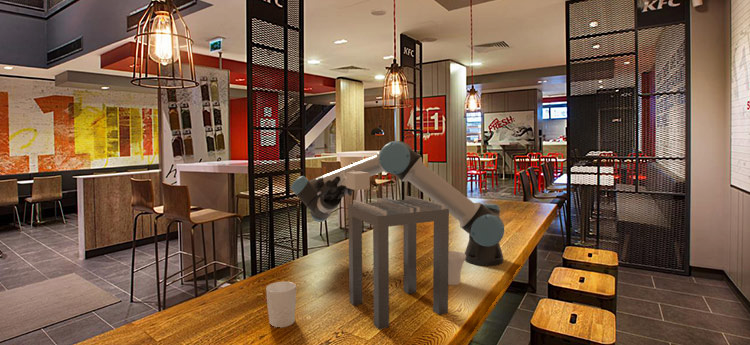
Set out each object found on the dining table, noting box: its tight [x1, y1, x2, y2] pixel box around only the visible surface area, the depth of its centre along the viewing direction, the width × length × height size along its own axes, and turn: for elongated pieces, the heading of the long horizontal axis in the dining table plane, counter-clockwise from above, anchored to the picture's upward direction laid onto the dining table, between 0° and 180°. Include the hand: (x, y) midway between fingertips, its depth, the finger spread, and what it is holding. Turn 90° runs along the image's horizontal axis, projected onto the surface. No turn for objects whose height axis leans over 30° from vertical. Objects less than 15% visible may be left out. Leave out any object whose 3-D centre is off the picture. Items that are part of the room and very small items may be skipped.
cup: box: [448, 250, 466, 286], centre depth 139 cm, size 9×9×10 cm
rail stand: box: [347, 195, 450, 330], centre depth 118 cm, size 20×22×31 cm
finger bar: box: [337, 171, 371, 191], centre depth 133 cm, size 19×5×5 cm, turn 26°
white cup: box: [265, 281, 297, 328], centre depth 110 cm, size 8×8×10 cm
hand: (348, 173), depth 134 cm, fingers closed on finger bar, 3 cm apart
